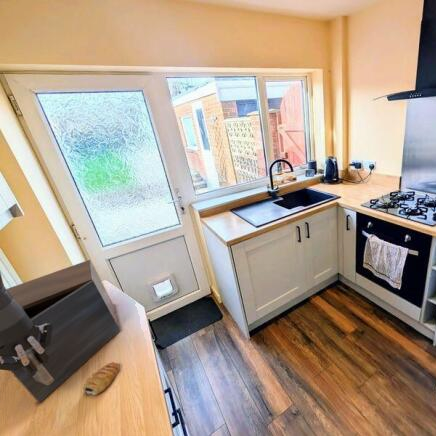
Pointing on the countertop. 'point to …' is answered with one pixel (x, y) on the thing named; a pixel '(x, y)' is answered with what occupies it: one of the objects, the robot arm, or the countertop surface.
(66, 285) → the cupboard
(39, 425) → the countertop surface
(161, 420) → the countertop surface
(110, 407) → the countertop surface
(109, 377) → the pastry
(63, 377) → the door
